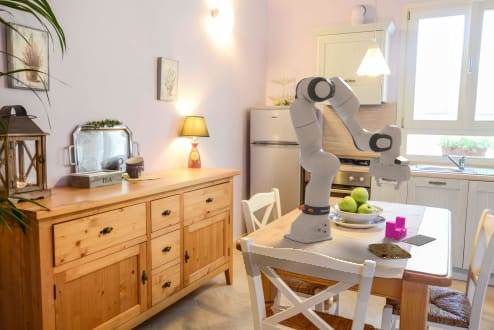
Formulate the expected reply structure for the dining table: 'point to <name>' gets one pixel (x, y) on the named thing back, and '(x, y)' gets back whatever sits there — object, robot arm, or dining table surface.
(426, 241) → the mat
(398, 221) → the toy block
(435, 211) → the dining table surface
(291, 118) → the robot arm
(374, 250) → the pastry
